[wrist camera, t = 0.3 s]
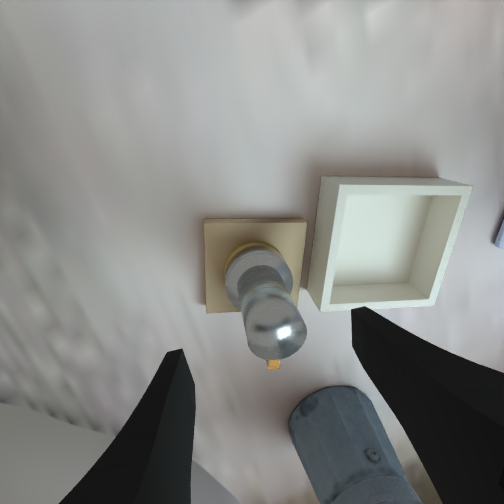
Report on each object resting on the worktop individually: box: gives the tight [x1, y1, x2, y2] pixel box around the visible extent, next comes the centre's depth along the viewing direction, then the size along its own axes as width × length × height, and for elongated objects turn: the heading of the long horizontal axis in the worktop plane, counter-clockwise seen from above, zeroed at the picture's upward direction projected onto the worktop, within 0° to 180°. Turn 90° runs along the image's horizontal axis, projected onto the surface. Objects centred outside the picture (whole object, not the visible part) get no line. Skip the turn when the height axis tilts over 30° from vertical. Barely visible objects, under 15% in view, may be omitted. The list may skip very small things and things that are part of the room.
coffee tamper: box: [225, 246, 307, 369], centre depth 18 cm, size 4×4×6 cm
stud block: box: [204, 218, 307, 313], centre depth 22 cm, size 7×7×2 cm
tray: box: [307, 176, 473, 312], centre depth 22 cm, size 9×9×3 cm
